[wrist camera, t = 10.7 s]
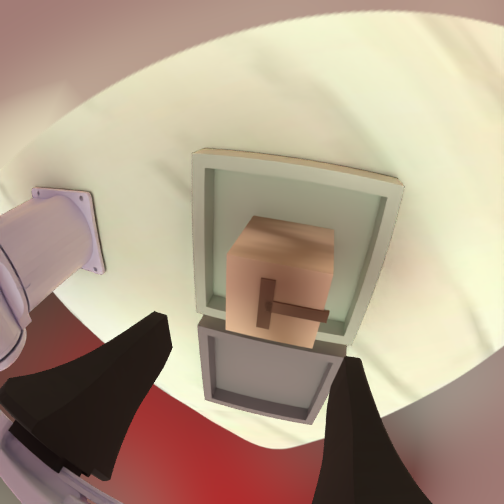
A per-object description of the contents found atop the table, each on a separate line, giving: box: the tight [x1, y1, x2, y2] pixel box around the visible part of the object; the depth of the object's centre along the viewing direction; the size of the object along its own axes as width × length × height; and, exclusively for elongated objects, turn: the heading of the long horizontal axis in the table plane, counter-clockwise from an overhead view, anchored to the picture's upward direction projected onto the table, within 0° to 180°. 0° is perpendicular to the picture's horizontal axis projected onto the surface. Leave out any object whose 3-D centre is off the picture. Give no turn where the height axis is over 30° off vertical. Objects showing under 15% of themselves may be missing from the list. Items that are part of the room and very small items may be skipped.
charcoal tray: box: [198, 314, 346, 425], centre depth 24 cm, size 12×12×2 cm
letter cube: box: [226, 216, 334, 348], centre depth 16 cm, size 5×5×5 cm
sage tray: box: [192, 148, 405, 346], centre depth 18 cm, size 12×12×2 cm
